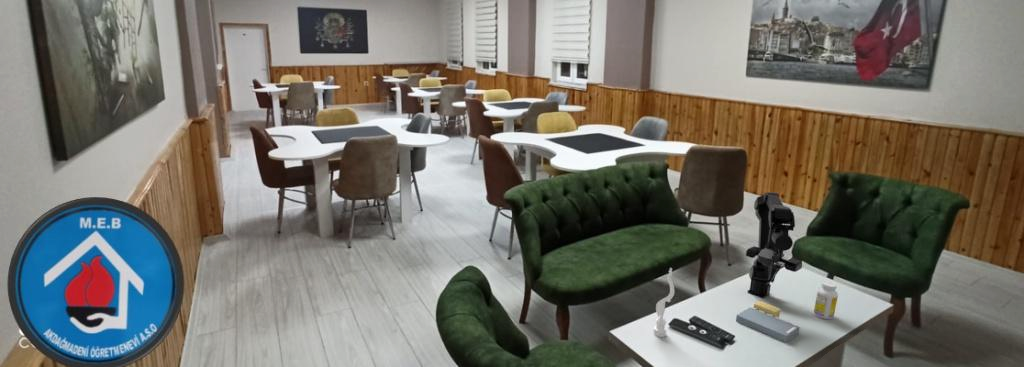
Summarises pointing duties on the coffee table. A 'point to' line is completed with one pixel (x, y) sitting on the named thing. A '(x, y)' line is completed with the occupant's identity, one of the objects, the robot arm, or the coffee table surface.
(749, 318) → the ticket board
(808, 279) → the coffee table surface
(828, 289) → the supplement bottle
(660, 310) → the decorative finial
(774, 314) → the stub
